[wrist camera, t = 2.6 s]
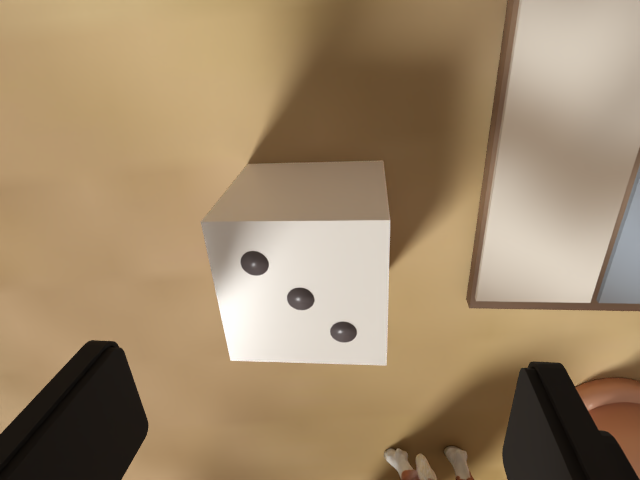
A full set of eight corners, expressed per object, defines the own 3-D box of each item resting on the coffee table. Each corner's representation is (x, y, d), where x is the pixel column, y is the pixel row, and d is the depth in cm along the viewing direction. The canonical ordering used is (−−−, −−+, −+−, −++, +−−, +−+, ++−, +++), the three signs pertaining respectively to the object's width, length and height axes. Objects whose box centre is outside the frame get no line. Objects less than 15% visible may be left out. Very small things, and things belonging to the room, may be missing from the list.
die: (247, 163, 15) (200, 222, 11) (383, 159, 15) (390, 220, 10) (264, 275, 18) (230, 360, 13) (381, 276, 17) (387, 365, 13)
